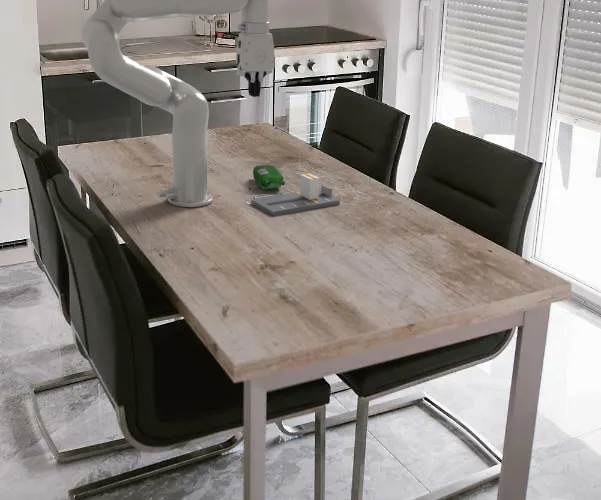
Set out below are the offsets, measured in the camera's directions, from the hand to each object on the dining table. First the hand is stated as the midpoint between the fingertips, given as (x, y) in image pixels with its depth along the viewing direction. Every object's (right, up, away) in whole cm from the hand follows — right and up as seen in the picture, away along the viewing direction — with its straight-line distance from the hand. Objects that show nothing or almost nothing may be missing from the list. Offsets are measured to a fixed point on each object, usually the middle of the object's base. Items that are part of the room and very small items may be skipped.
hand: (254, 95), depth 249 cm
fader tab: (+15, -28, +7) cm, 32 cm away
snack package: (+3, -24, +21) cm, 32 cm away
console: (+11, -30, +5) cm, 32 cm away
